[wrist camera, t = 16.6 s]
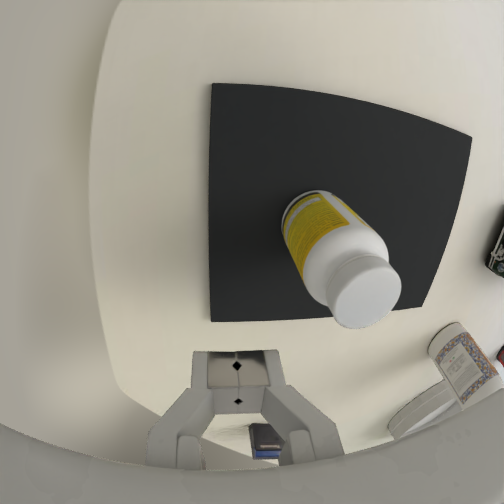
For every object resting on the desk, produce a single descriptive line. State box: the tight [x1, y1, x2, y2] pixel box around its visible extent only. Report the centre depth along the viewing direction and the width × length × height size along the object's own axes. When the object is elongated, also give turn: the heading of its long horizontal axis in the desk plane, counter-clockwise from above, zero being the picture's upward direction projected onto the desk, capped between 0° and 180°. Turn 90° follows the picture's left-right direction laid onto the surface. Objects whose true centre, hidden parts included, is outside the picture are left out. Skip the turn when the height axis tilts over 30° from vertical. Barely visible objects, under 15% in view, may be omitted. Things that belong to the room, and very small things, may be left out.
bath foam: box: [428, 323, 504, 410], centre depth 25 cm, size 7×7×20 cm
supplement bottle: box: [282, 190, 401, 329], centre depth 17 cm, size 5×5×10 cm
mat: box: [209, 83, 472, 322], centre depth 22 cm, size 24×20×1 cm
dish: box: [388, 380, 463, 440], centre depth 45 cm, size 22×22×5 cm
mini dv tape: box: [249, 424, 285, 459], centre depth 36 cm, size 8×2×6 cm, turn 72°
